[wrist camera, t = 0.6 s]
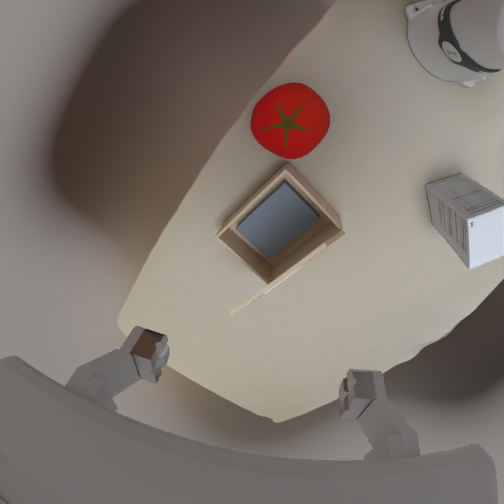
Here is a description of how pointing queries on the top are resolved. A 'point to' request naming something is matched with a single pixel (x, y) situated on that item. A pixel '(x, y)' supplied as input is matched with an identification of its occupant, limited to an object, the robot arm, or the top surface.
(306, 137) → the tomato
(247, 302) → the lid
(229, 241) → the box
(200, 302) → the top surface
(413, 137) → the top surface
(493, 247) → the supplement box
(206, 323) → the top surface
